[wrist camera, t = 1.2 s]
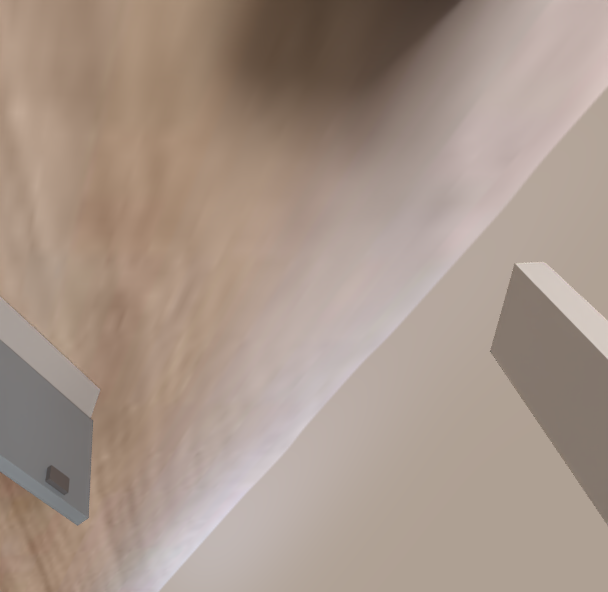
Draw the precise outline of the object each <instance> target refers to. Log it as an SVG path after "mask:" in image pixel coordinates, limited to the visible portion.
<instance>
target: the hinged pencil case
mask: <svg viewBox="0 0 608 592" xmlns="http://www.w3.org/2000/svg"><path fill="white" fill-rule="evenodd" d="M0 340H2V341H3V342H4V343H5V344H6V345H7V346H9V347H10V348H11V349H12V350H13V351H14V352H15V353H17V354H18V355H19V356H20V357H21V358H22V359H23V360H25V361H26V362H27V363H28V364H29V365H30V366H31V367H33V368H34V369H35V370H36V371H37V372H38V373H39V374H41V375H42V376H43V377H44V378H45V379H46V380H47V381H49V382H50V383H51V384H52V385H53V386H54V387H55V388H57V389H58V390H59V391H60V392H61V393H62V394H63V395H65V396H66V397H67V398H68V399H69V400H70V401H71V402H73V403H74V404H75V405H76V406H77V407H78V408H79V409H81V410H82V411H83V412H84V413H85V414H86V415H87V416H89V417H90V418H91V416H92V413H93V410H94V407H95V404H96V401H97V398H98V395H99V392H100V389H99V388H98V387H97V386H96V385H95V384H94V383H93V382H92V381H91V380H89V379H88V378H87V377H86V376H85V375H84V374H83V373H82V372H81V371H80V370H79V369H78V368H77V367H75V366H74V365H73V364H72V363H71V362H70V361H69V360H68V359H67V358H66V357H65V356H64V355H63V354H62V353H60V352H59V351H58V350H57V349H56V348H55V347H54V346H53V345H52V344H51V343H50V342H49V341H48V340H47V339H45V338H44V337H43V336H42V335H41V334H40V333H39V332H38V331H37V330H36V329H35V328H34V327H33V326H32V325H30V324H29V323H28V322H27V321H26V320H25V319H24V318H23V317H22V316H21V315H20V314H19V313H18V312H16V311H15V310H14V309H13V308H12V307H11V306H10V305H9V304H8V303H7V302H6V301H5V300H4V299H3V298H1V297H0Z"/></svg>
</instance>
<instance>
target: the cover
mask: <svg viewBox="0 0 608 592" xmlns="http://www.w3.org/2000/svg"><path fill="white" fill-rule="evenodd" d="M92 431H93V420H92V419H91V418H90V417H89V416H87V415H86V414H85V413H84V412H83V411H82V410H81V409H79V408H78V407H77V406H76V405H75V404H74V403H73V402H71V401H70V400H69V399H68V398H67V397H66V396H65V395H63V394H62V393H61V392H60V391H59V390H58V389H57V388H55V387H54V386H53V385H52V384H51V383H50V382H49V381H47V380H46V379H45V378H44V377H43V376H42V375H41V374H39V373H38V372H37V371H36V370H35V369H34V368H33V367H31V366H30V365H29V364H28V363H27V362H26V361H25V360H23V359H22V358H21V357H20V356H19V355H18V354H17V353H15V352H14V351H13V350H12V349H11V348H10V347H9V346H7V345H6V344H5V343H4V342H3V341H2V340H0V472H1V473H3V474H4V475H6V476H7V477H9V478H10V479H11V480H13V481H14V482H16V483H17V484H19V485H20V486H21V487H23V488H24V489H26V490H27V491H29V492H30V493H32V494H33V495H34V496H36V497H37V498H39V499H40V500H42V501H43V502H44V503H46V504H47V505H49V506H50V507H52V508H53V509H55V510H56V511H57V512H59V513H60V514H62V515H63V516H65V517H66V518H67V519H69V520H70V521H72V522H73V523H75V524H76V525H79V524H81V523H82V522H84V521H85V520H86V519H88V518H89V496H90V475H91V453H92Z"/></svg>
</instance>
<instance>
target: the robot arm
mask: <svg viewBox="0 0 608 592" xmlns="http://www.w3.org/2000/svg"><path fill="white" fill-rule="evenodd" d="M490 352H491V353H492V355H493V356H494V358H495V359H496V361H497V362H498V364H499V365H500V367H501V368H502V370H503V371H504V372H505V374H506V375H507V377H508V378H509V380H510V381H511V383H512V385H513V386H514V388H515V389H516V390H517V392H518V393H519V395H520V396H521V398H522V399H523V401H524V402H525V403H526V405H527V407H528V408H529V410H530V411H531V413H532V414H533V416H534V417H535V419H536V420H537V422H538V423H539V424H540V426H541V427H542V429H543V430H544V432H545V433H546V435H547V436H548V438H549V439H550V441H551V442H552V444H553V445H554V447H555V448H556V450H557V451H558V452H559V454H560V455H561V457H562V458H563V460H564V461H565V463H566V464H567V466H568V467H569V469H570V470H571V472H572V473H573V475H574V476H575V478H576V479H577V481H578V482H579V483H580V485H581V487H582V488H583V489H584V491H585V492H586V494H587V495H588V497H589V498H590V500H591V501H592V503H593V504H594V506H595V507H596V509H597V510H598V512H599V513H600V514H601V516H602V518H603V519H604V521H605V522H606V523H607V525H608V320H607V319H605V318H604V317H603V316H602V315H601V314H600V313H599V312H598V311H597V310H596V309H594V307H593V306H591V305H590V304H589V303H588V302H587V301H586V300H585V299H584V298H583V297H582V296H581V295H579V293H577V292H576V291H575V290H574V289H573V288H572V287H571V286H570V285H569V284H568V283H567V282H566V281H565V280H563V279H562V278H561V277H560V276H559V275H558V274H557V273H556V272H555V271H554V270H553V269H551V268H550V267H549V266H548V265H547V264H546V263H545V262H532V263H515V264H514V268H513V271H512V275H511V279H510V282H509V286H508V289H507V293H506V296H505V300H504V304H503V307H502V311H501V314H500V318H499V321H498V325H497V328H496V332H495V336H494V339H493V343H492V346H491V350H490Z"/></svg>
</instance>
